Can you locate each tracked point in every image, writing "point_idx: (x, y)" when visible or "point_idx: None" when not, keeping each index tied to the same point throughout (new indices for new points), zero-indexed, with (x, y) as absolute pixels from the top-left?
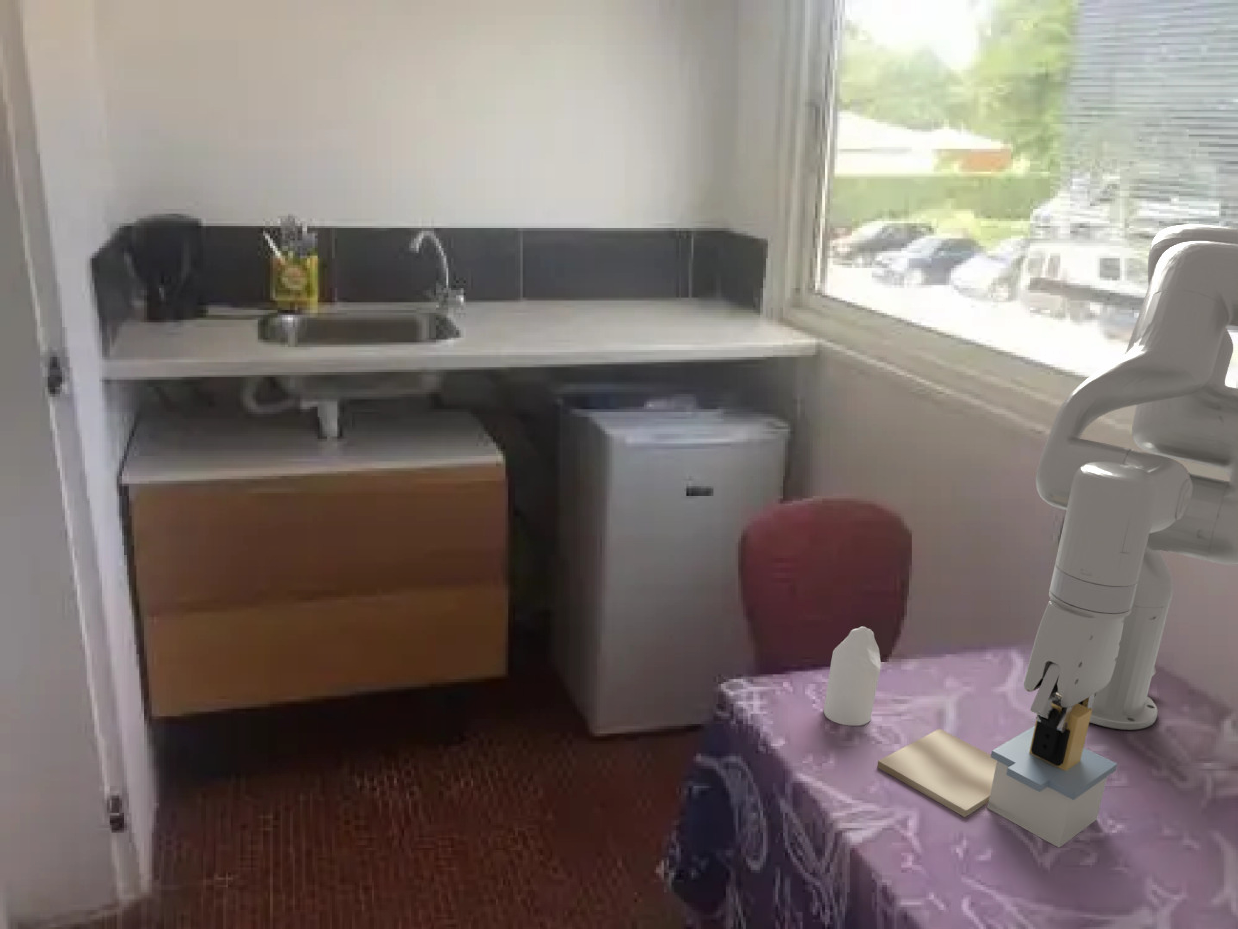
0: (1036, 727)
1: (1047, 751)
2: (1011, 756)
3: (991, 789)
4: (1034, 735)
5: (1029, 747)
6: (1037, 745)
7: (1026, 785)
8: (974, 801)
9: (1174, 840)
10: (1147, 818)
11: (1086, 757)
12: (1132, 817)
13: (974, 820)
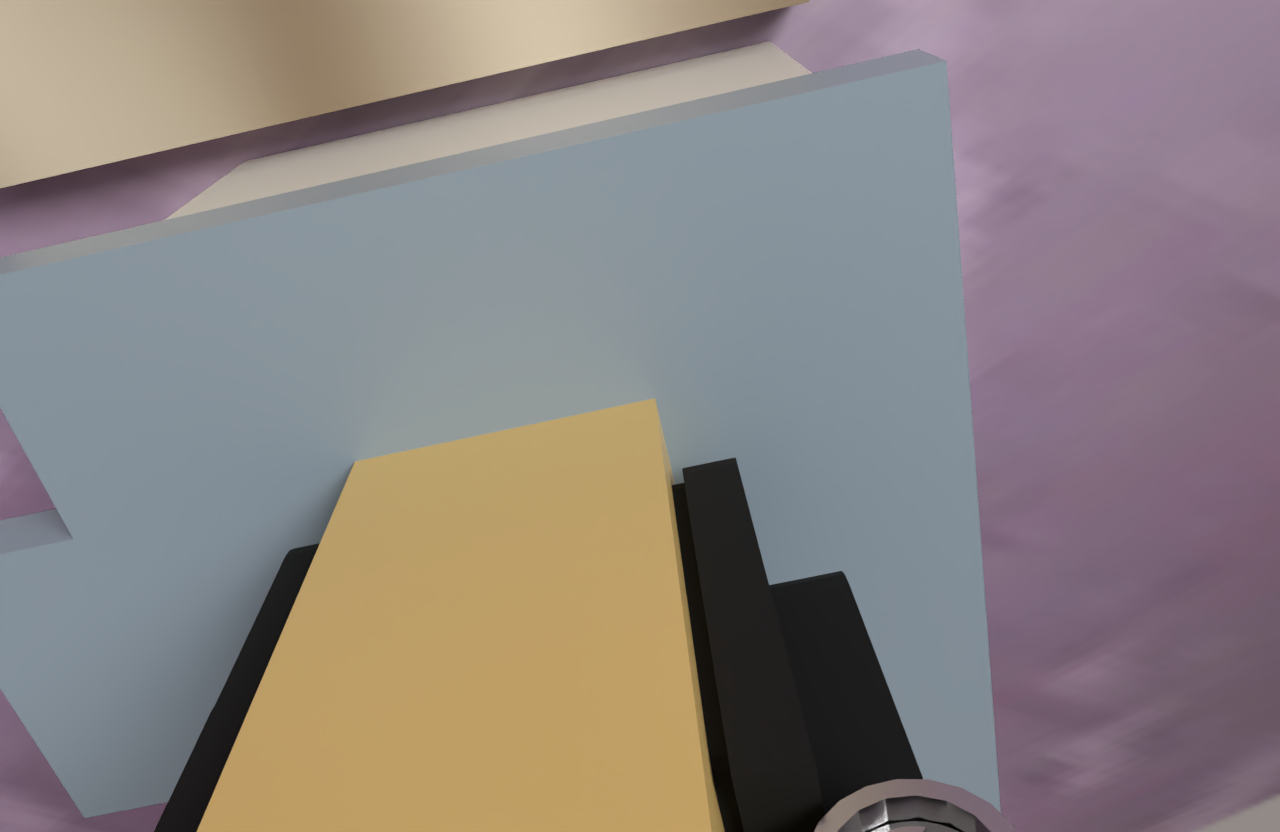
0: (187, 772)
1: None
2: (103, 444)
3: (195, 200)
4: (228, 678)
5: (433, 397)
6: (203, 728)
7: None
8: (113, 132)
9: (1041, 727)
10: (1113, 581)
11: None
12: (1049, 549)
13: (64, 227)
